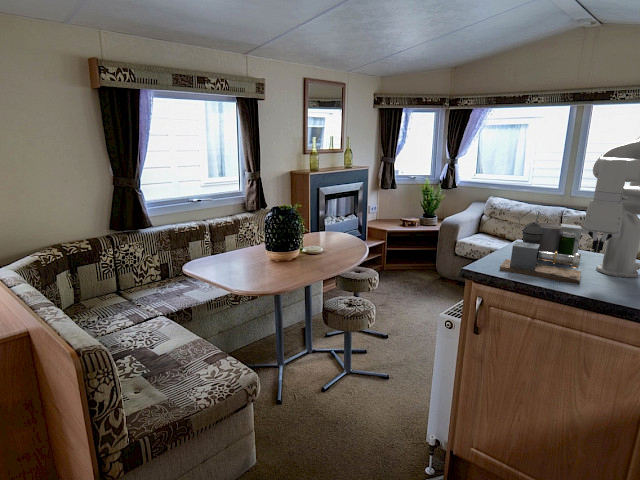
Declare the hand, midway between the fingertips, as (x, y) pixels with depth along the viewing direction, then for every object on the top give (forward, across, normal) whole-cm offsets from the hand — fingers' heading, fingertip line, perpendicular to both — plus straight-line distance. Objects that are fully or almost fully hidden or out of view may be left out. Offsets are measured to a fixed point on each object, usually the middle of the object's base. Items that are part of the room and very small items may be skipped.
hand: (596, 251), depth 138 cm
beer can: (+10, +9, -20) cm, 25 cm away
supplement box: (+10, +9, -34) cm, 37 cm away
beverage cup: (+11, +21, -15) cm, 28 cm away
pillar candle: (+11, +17, -23) cm, 30 cm away
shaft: (+7, +13, -1) cm, 15 cm away
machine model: (+11, +16, -1) cm, 19 cm away
